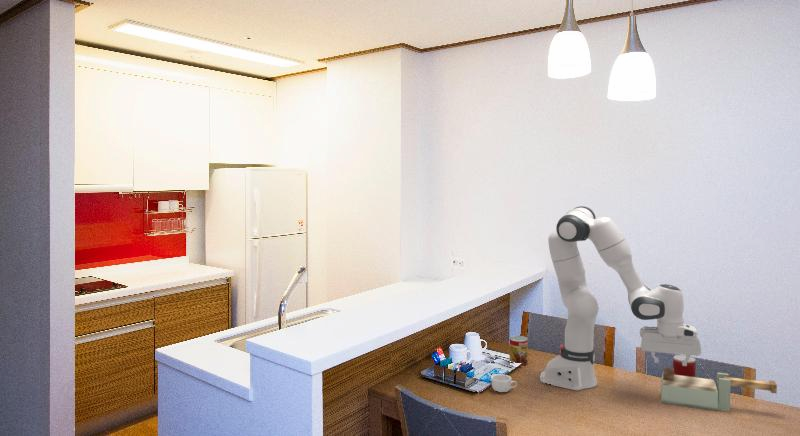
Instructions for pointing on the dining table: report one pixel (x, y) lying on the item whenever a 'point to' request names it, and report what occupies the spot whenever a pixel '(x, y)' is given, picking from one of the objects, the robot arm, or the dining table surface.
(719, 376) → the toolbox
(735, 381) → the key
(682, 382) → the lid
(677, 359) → the canned food
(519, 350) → the canned food
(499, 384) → the teacup
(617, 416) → the dining table surface
